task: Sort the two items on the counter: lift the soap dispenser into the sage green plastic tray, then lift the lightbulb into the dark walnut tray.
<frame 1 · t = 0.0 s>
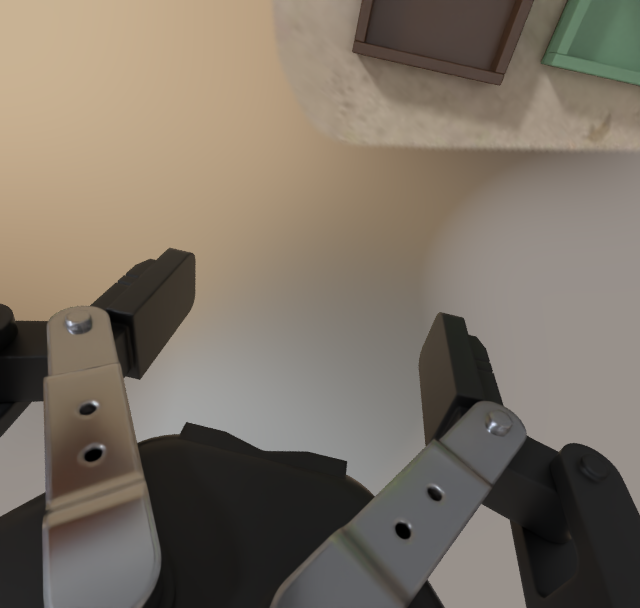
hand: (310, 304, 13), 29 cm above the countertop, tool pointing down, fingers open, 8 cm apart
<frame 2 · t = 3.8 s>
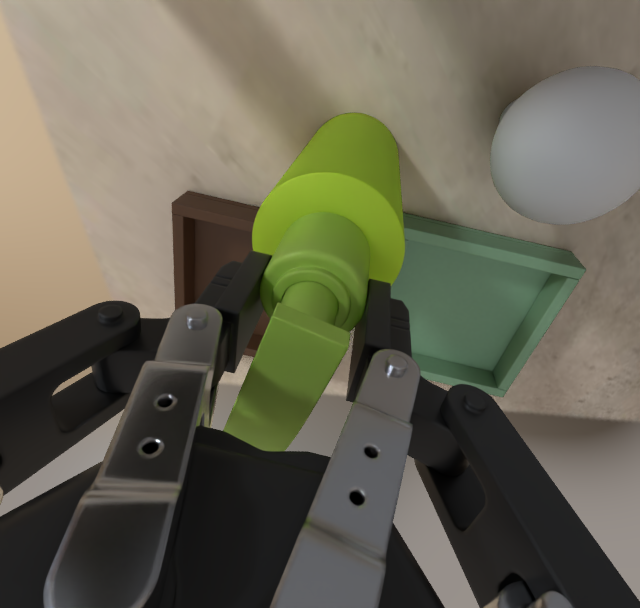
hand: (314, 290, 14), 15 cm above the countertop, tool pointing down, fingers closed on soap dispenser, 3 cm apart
lightbulb: (517, 118, 24), on the countertop
walnut tray: (260, 279, 32), on the countertop
soap dispenser: (349, 168, 27), on the countertop, touching gripper
green tray: (452, 302, 31), on the countertop
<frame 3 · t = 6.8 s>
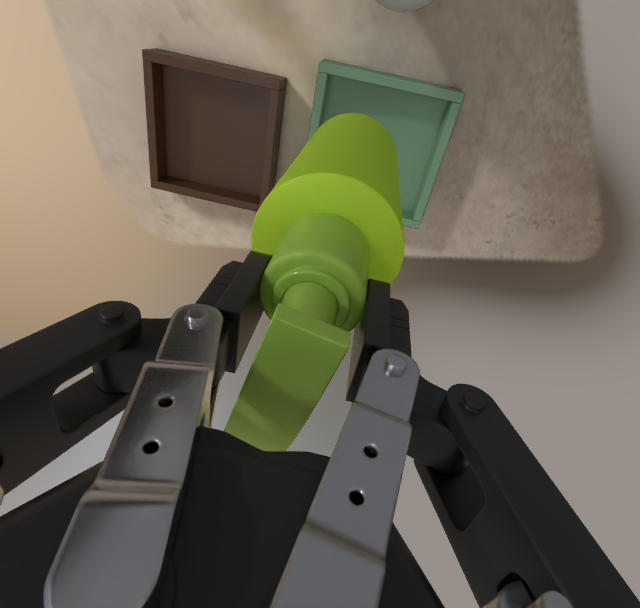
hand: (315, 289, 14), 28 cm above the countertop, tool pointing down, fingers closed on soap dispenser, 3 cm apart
walnut tray: (219, 133, 39), on the countertop
soap dispenser: (348, 168, 27), point 13 cm above the countertop, touching gripper
green tray: (374, 146, 38), on the countertop
when the fingers open (16 cm above the countertop, at t = 10.0 s): soap dispenser stays where it is, resting on green tray.
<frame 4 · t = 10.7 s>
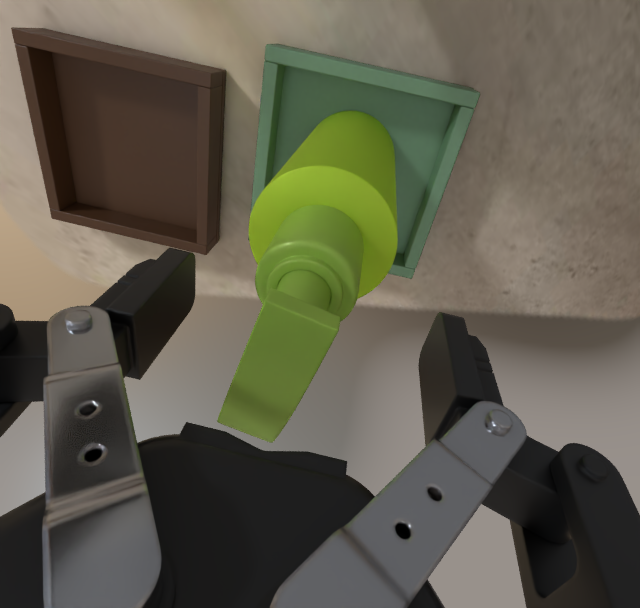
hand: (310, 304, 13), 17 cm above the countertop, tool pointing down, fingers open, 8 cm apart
walnut tray: (140, 146, 29), on the countertop
soap dispenser: (346, 165, 27), resting on green tray
green tray: (351, 166, 27), on the countertop
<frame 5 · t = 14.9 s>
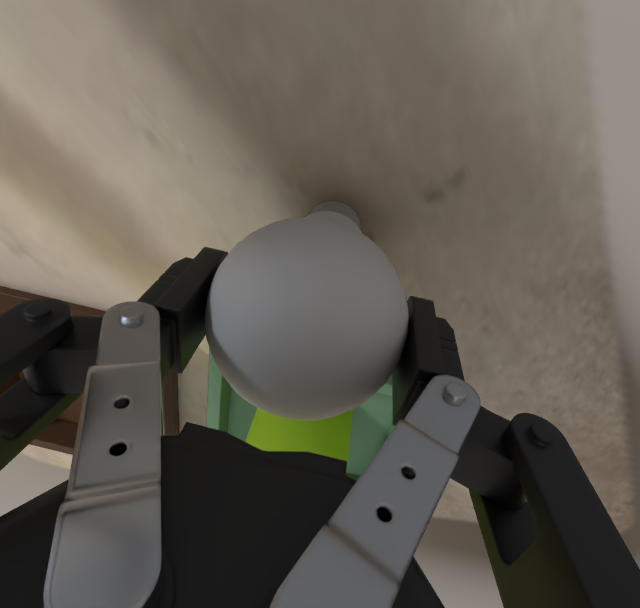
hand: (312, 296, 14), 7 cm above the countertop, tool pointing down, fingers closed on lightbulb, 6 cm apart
lightbulb: (335, 219, 19), on the countertop, touching gripper
walnut tray: (94, 374, 28), on the countertop
soap dispenser: (304, 409, 26), resting on green tray
green tray: (310, 406, 26), on the countertop
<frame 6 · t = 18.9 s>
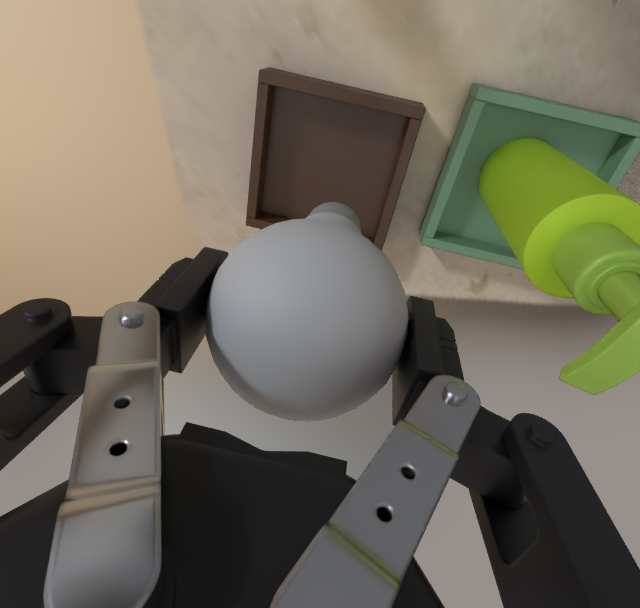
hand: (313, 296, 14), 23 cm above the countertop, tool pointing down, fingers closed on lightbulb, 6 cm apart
lightbulb: (335, 220, 19), point 16 cm above the countertop, touching gripper
walnut tray: (329, 164, 34), on the countertop
soap dispenser: (513, 182, 32), resting on green tray
green tray: (515, 182, 32), on the countertop
when the fingers open (7 cm above the countertop, at t = 23.1 s): lightbulb stays where it is, resting on walnut tray.
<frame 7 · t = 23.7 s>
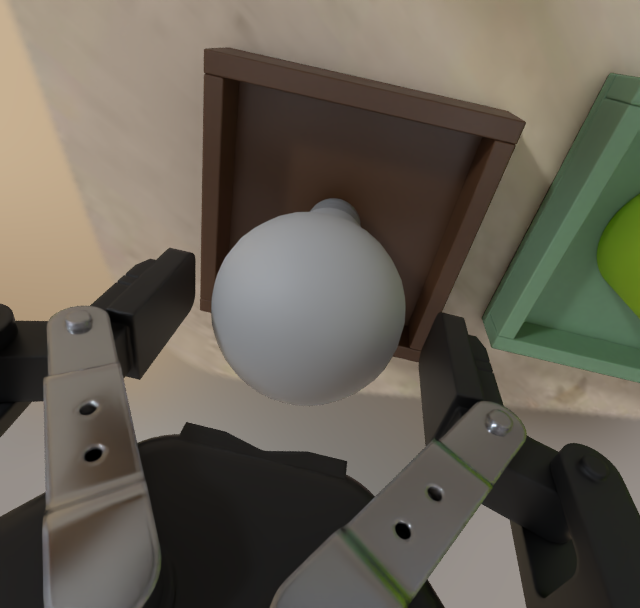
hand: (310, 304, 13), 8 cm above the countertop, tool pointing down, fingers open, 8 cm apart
lightbulb: (336, 216, 20), resting on walnut tray
walnut tray: (337, 213, 20), on the countertop
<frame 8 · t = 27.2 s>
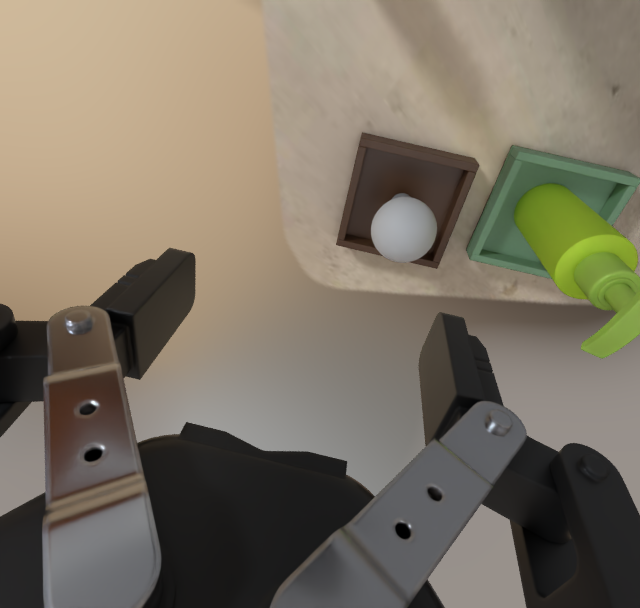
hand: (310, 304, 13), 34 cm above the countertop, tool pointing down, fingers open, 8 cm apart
lightbulb: (401, 201, 45), resting on walnut tray
walnut tray: (401, 200, 45), on the countertop
soap dispenser: (539, 214, 43), resting on green tray
green tray: (541, 213, 44), on the countertop
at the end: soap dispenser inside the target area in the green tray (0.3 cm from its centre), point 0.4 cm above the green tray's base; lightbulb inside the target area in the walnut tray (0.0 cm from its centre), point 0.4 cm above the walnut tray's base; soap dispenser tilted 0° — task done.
